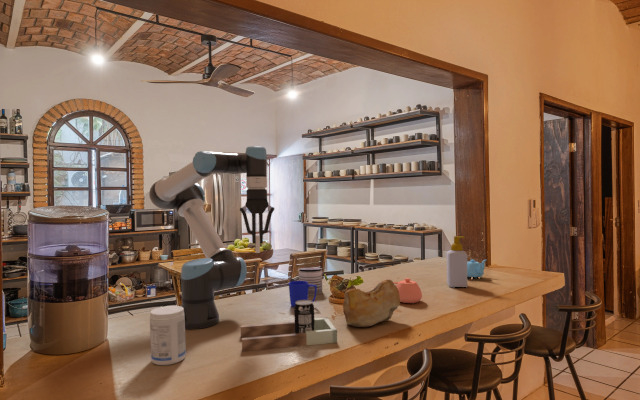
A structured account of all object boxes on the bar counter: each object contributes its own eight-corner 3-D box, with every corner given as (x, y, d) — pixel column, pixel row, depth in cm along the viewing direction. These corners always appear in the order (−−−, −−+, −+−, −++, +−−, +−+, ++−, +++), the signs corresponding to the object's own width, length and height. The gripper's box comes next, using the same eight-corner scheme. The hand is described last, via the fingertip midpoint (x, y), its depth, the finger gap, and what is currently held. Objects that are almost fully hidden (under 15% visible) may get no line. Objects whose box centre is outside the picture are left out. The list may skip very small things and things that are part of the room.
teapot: (458, 279, 232) (458, 260, 232) (462, 274, 243) (462, 257, 243) (483, 281, 226) (483, 262, 225) (486, 276, 237) (486, 258, 237)
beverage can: (304, 333, 145) (303, 298, 145) (318, 337, 141) (318, 301, 141) (291, 338, 140) (289, 302, 140) (305, 342, 136) (304, 305, 136)
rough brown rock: (380, 312, 172) (376, 275, 173) (407, 319, 158) (403, 279, 158) (330, 324, 161) (327, 284, 161) (355, 332, 146) (351, 289, 147)
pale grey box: (306, 345, 134) (306, 332, 134) (299, 331, 148) (299, 319, 148) (337, 342, 136) (337, 330, 136) (327, 328, 150) (327, 317, 150)
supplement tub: (175, 351, 131) (174, 303, 130) (192, 359, 124) (191, 309, 124) (144, 360, 124) (143, 310, 123) (160, 369, 117) (159, 316, 117)
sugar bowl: (420, 306, 178) (420, 282, 178) (387, 303, 183) (387, 280, 182) (423, 299, 190) (423, 276, 190) (392, 297, 194) (391, 274, 194)
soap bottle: (467, 288, 209) (467, 237, 209) (449, 287, 211) (448, 237, 210) (464, 284, 218) (464, 235, 218) (446, 284, 220) (446, 235, 219)
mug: (314, 309, 175) (314, 285, 175) (286, 308, 178) (286, 284, 178) (318, 304, 183) (318, 281, 183) (291, 303, 186) (291, 280, 186)
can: (295, 294, 202) (294, 269, 202) (303, 289, 213) (303, 265, 213) (318, 295, 198) (317, 270, 198) (325, 290, 209) (325, 266, 209)
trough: (242, 351, 130) (242, 339, 130) (240, 336, 144) (240, 325, 143) (306, 345, 134) (306, 334, 134) (299, 331, 148) (299, 321, 148)
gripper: (239, 188, 152) (240, 254, 152) (275, 188, 154) (276, 253, 155) (238, 188, 159) (239, 251, 159) (273, 188, 162) (274, 250, 162)
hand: (257, 252), depth 157 cm, fingers closed
